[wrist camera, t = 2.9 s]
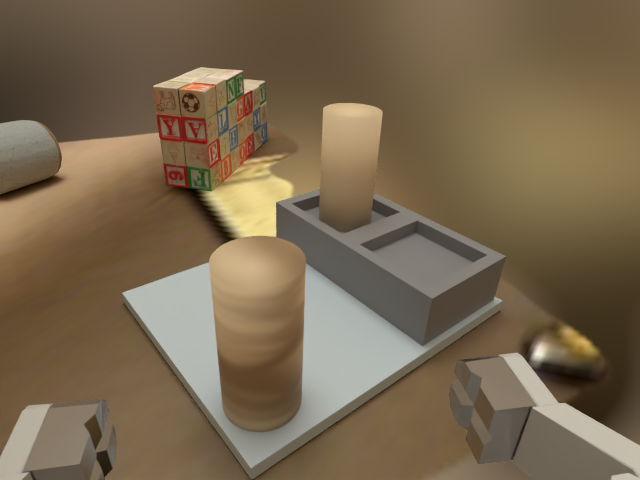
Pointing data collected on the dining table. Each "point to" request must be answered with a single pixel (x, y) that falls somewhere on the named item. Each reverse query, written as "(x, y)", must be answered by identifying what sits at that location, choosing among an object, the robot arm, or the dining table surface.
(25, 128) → the ceramic mug
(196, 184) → the stack of blocks
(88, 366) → the dining table surface
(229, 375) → the beech post
